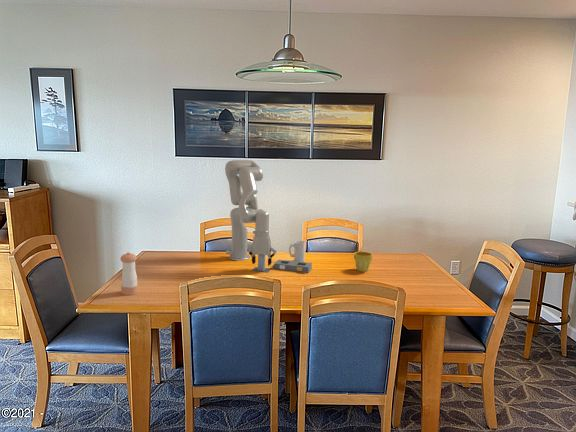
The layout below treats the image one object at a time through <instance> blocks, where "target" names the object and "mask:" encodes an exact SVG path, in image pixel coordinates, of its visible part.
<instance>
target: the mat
mask: <svg viewBox="0 0 576 432" xmlns="http://www.w3.org/2000/svg"><path fill="white" fill-rule="evenodd" d="M271 270H272V268H271V267H269V268H268V267H265V270H264V271H260V270H258V266H254V268H252V269H251V270H250V272H257V273H269V272H270V271H271Z"/></svg>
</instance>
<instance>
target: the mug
mask: <svg viewBox="0 0 576 432" xmlns="http://www.w3.org/2000/svg"><path fill="white" fill-rule="evenodd" d="M293 247H294V253H293V254H292V252H291V251H292V250H291V249H292V248H293ZM288 253H289V255H290V257H291V258H294V259H293V261H298V262H306V261H305V259H306V258H305V257H306V241H304V240H303V241H302V240H296V241H294V244H293V243H290V245H289V247H288Z"/></svg>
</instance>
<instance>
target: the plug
mask: <svg viewBox="0 0 576 432" xmlns="http://www.w3.org/2000/svg"><path fill="white" fill-rule="evenodd" d="M257 267H258V270H260V271H264V270H265V268H266V255H259V254H257Z"/></svg>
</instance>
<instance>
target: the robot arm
mask: <svg viewBox="0 0 576 432" xmlns="http://www.w3.org/2000/svg"><path fill="white" fill-rule="evenodd" d="M224 173H225V176H226V179H227V182H228V188H229V195H230V201H231V204H232V205H234V206H238V207H234V208H232V209H231V210H230V213H229V217H230V222H231V224H230V225H231V250H225V254H226V255H229V257H228V258H229V260H231V261H236V262H237V261H241V262H242V261H245V260H246V261H247V260H249V259H250V258H251V263H252V265H254V264H257V263H256V260H257V259H256V258H257V257H256V255H258V254H259V255H265V256H267V266H268V267H269V266H271V264H272V262H273V261H272V258H273V257H274V256H275V255H276V253H277V250H276V249H275V248H273V247H272V241H271V237H270V213H269V212H268V211H265V210H263V209H259V207H258V205H259V204H258V198H257V194H258V188H257V187H258V186H257V184H256V183H257V182H261V181H262V180H263V179H264V173H263V170H262V168H261V167H260V166H259V164H258V163H256V162H254V161H253V160H251V159H250V160H249V159H242V160H241V159H233V160H229V161H227V163H225V168H224ZM245 224H254V227H255V228H254V230H253V231H252V234H254V235H253V238H252V244H251V245H252V246H249V247H248V228H247V226H246V225H245ZM248 254H249V255H248Z"/></svg>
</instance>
